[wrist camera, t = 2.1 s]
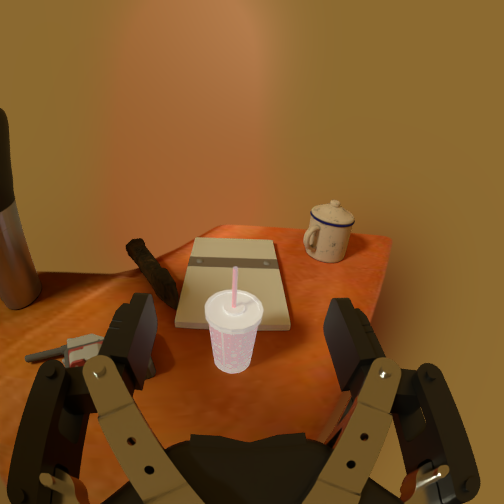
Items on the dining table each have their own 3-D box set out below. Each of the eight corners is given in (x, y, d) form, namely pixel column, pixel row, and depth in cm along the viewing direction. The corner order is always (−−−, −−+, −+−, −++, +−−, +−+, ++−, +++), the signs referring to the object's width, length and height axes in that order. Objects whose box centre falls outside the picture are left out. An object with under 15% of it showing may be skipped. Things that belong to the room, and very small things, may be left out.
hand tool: (127, 258, 50) (123, 237, 48) (145, 252, 52) (142, 232, 50) (161, 318, 38) (156, 295, 35) (185, 309, 40) (182, 285, 37)
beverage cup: (264, 350, 34) (277, 260, 27) (244, 386, 29) (252, 297, 22) (222, 334, 36) (222, 244, 29) (198, 366, 31) (189, 274, 24)
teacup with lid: (322, 238, 62) (331, 191, 56) (353, 256, 56) (366, 206, 50) (285, 252, 56) (292, 198, 50) (317, 274, 50) (330, 216, 44)
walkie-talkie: (147, 328, 36) (29, 359, 26) (141, 306, 33) (15, 339, 24) (167, 375, 29) (31, 410, 20) (161, 354, 27) (13, 391, 18)
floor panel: (175, 327, 36) (174, 320, 35) (195, 242, 56) (195, 236, 56) (289, 330, 37) (291, 323, 36) (271, 245, 58) (272, 239, 57)
